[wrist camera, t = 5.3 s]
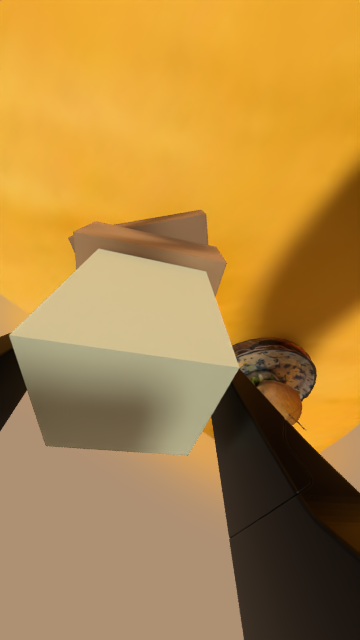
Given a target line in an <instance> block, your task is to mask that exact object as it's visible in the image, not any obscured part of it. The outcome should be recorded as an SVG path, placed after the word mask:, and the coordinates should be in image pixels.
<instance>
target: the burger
mask: <svg viewBox="0 0 360 640" xmlns="http://www.w3.org/2000/svg"><path fill="white" fill-rule="evenodd" d="M232 348H233V350H234V353H235V356H236V359H237V362H238V365H239V368H240V369H241V371H242V372H243V373H244V374H245V375H246V376H247V377H248V378H249V379H250V380H251V381H252V383H253V384H254V385H255V386H256V387H257V388H258V389H259V390H260V391H261V392H262V393H263V395H264V396H265V397H266V398H267V399H268V400H269V401H270V402H271V403H272V404H273V406H274V407H275V408H276V409H277V410H278V411H279V412H280V413H281V414H282V415H283V416H284V418H285V419H286V420H287V421H288V422H289V423H290V424H291V425H294V424H295V423H296V422H297V423H298V424H299V425H300V423H299V422H298V419H299V418H300V415H301V411H302V403H301V402H302V401H303V399H304V398H306V397H308V396H309V394H310V393H311V391H312V389H313V387H314V385H315V383H316V382H315V381H316V377H317V375H316V367H315V365H314V364H313V362H312V361H311V358H310V357H309V355H308V354H307V353H306V352H305V351H304V349H303V348H302V347H298V346H297V345H296V344H294V343H293V342H291V341H288V340H285V339H279V338H259V339H252V340H248V341H244V342H241V343H238V344H236V345H233V346H232ZM300 426H302V425H300ZM302 428H303V427H302ZM303 429H304V428H303Z"/></svg>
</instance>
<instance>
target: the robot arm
mask: <svg viewBox="0 0 360 640" xmlns="http://www.w3.org/2000/svg"><path fill="white" fill-rule="evenodd" d="M11 333H12V332H11ZM11 333H9V334H6V335H4V336H1V337H0V431H1V429H2V427H3V426H4V425H5V423H6V422H7V420H8V418H9V417H10V415H11V414H12V412H13V411H14V409H15V407H16V406H17V405H18V403H19V401H20V400H21V398H22V397H23V395H24V394H25V392H26V391H27V388H26V385H25V382H24V379H23V376H22V373H21V370H20V367H19V364H18V361H17V358H16V355H15V352H14V349H13V346H12V343H11V340H10V336H9V335H10V334H11ZM211 418H212V425H213V431H214V438H215V444H216V452H217V458H218V465H219V472H220V478H221V485H222V492H223V498H224V505H225V512H226V519H227V526H228V533H229V538H230V539H229V540H230V547H231V554H232V560H233V568H234V574H235V581H236V588H237V595H238V602H239V608H240V615H241V622H242V628H243V635H244V640H360V493H359V492H358V491H357V490H356V489H355V488H354V487H353V486H352V485H351V484H350V483H349V482H347V480H346V479H345V478H344V477H342V475H341V474H340V473H338V472H337V471H336V470H335V469H334V468H333V467H332V466H331V465H330V464H329V463H328V462H327V461H326V460H325V459H324V458H323V457H322V456H321V455H320V454H319V453H318V452H317V451H316V450H315V449H314V448H313V447H312V446H311V445H310V444H309V443H308V442H307V441H306V440H305V439H304V438H303V437H302V436H301V435H300V434H299V433H298V432H297V430H296V429H295V428H294V427H293V426H292V425H291V424H290V423H289V422H288V421H287V420H286V419H285V418H284V416H283V415H282V414H281V413H280V412H279V411H278V410H277V409H276V408H275V407H274V406H273V404H272V403H271V402H270V401H269V400H268V399H267V398H266V397H265V396H264V395H263V393H262V392H261V391H260V390H259V389H258V388H257V387H256V386H255V385H254V384H253V383H252V381H251V380H250V379H249V378H248V377H247V376H246V375H245V374H244V373H243V372H242V371H241V369H240V368H239V369H238V371H237V373H236V374H235V376H234V378H233V380H232V381H231V383H230V385H229V386H228V388H227V390H226V392H225V393H224V395H223V397H222V398H221V400H220V402H219V403H218V405H217V407H216V409H215V410H214V412H213V414H212V415H211Z"/></svg>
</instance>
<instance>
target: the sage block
mask: <svg viewBox="0 0 360 640" xmlns="http://www.w3.org/2000/svg"><path fill="white" fill-rule="evenodd" d="M9 336H10V340H11V343H12V346H13V349H14V352H15V355H16V358H17V361H18V364H19V367H20V370H21V373H22V376H23V379H24V382H25V385H26V388H27V391H28V393H29V397H30V400H31V403H32V406H33V409H34V412H35V415H36V418H37V421H38V424H39V427H40V430H41V433H42V436H43V439H44V442H45V445H46V446H53V447H69V448H83V449H98V450H113V451H127V452H142V453H158V454H173V455H189V453H190V451H191V450H192V448H193V446H194V444H195V443H196V441H197V439H198V438H199V436H200V434H201V432H202V431H203V429H204V427H205V426H206V424H207V422H208V421H209V419H210V417H211V415H212V414H213V412H214V410H215V409H216V407H217V405H218V403H219V402H220V400H221V398H222V397H223V395H224V393H225V392H226V390H227V388H228V386H229V385H230V383H231V381H232V380H233V378H234V376H235V374H236V373H237V371H238V369H239V365H238V362H237V359H236V356H235V353H234V350H233V348H232V345H231V342H230V339H229V336H228V333H227V330H226V327H225V325H224V322H223V319H222V316H221V313H220V310H219V307H218V304H217V301H216V299H215V296H214V293H213V290H212V287H211V284H210V281H209V278H208V275H207V273H206V271H202V270H197V269H192V268H187V267H183V266H178V265H173V264H169V263H164V262H159V261H155V260H150V259H145V258H141V257H136V256H131V255H127V254H122V253H117V252H113V251H108V250H103V249H98V250H97V251H96V252H95V253H93V254H92V255H91V256H90V257H89V258H88V259H87V260H86V261H85V262H84V263H83V264H82V265H81V266H80V267H79V268H78V269H77V270H76V271H75V272H74V273H73V274H72V275H71V276H70V277H69V278H68V279H67V280H66V281H65V282H63V283H62V284H61V285H60V286H59V287H58V288H57V289H56V290H55V291H54V292H53V293H52V294H51V295H50V296H49V297H48V298H47V299H46V300H45V301H44V302H43V303H42V304H41V305H40V306H39V307H38V308H37V309H36V310H35V311H33V312H32V313H31V314H30V315H29V316H28V317H27V318H26V319H25V320H24V321H23V322H22V323H21V324H20V325H19V326H18V327H17V328H16V329H15V330H14V331H13V332H12V333H11V334H10V335H9Z"/></svg>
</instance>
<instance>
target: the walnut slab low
mask: <svg viewBox="0 0 360 640" xmlns="http://www.w3.org/2000/svg"><path fill="white" fill-rule="evenodd" d="M115 226H120V227H124V228H129V229H134V230H139V231H143V232H148V233H153V234H157V235H162V236H167V237H172V238H176V239H181V240H186V241H191V242H195V243H200V244H205V245H208V234H207V220H206V214H205V213H204V212H203V211H202V210H197V211H191V212H186V213H180V214H174V215H168V216H162V217H157V218H151V219H145V220H139V221H133V222H128V223H122V224H116V225H115ZM69 241H70V243H71V245H72V248H73V250H74V252H75V247H74V235H73V236H71V237H69Z"/></svg>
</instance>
